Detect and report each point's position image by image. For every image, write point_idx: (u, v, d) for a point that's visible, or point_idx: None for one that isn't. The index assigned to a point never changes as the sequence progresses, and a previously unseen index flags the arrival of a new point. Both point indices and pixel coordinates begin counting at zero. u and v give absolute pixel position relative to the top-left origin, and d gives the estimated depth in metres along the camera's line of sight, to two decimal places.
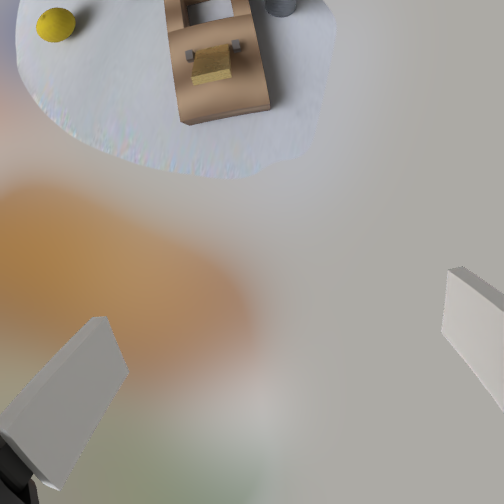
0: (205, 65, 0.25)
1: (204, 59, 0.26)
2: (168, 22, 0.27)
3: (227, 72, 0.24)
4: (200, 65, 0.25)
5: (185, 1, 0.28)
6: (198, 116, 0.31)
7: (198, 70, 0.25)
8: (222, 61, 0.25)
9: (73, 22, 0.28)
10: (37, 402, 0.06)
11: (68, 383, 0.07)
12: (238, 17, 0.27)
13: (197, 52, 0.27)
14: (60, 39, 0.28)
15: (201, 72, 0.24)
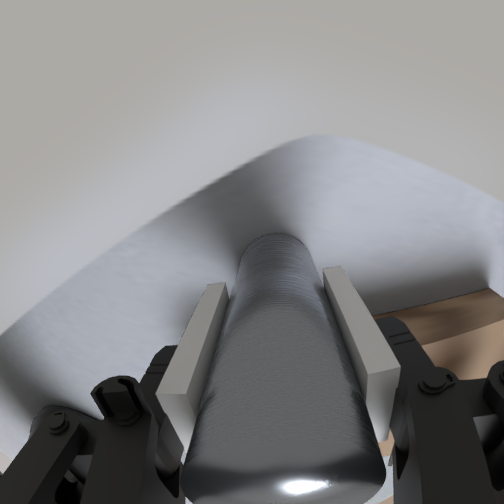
0: None
1: None
2: None
3: None
4: None
5: None
6: None
7: None
8: None
9: None
10: (200, 361, 0.08)
11: (214, 343, 0.09)
12: None
13: None
14: None
15: None
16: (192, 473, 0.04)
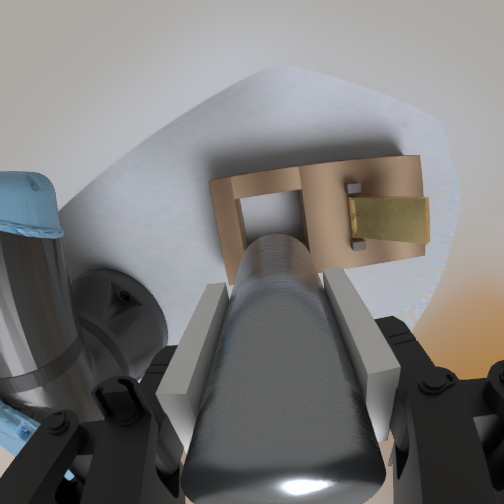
0: (404, 226, 0.22)
1: (387, 227, 0.23)
2: None
3: (426, 201, 0.20)
4: (401, 232, 0.22)
5: None
6: None
7: (413, 235, 0.22)
8: (402, 206, 0.22)
9: None
10: (200, 361, 0.08)
11: (214, 343, 0.09)
12: (303, 183, 0.26)
13: (360, 235, 0.26)
14: None
15: (420, 231, 0.21)
16: (192, 473, 0.04)
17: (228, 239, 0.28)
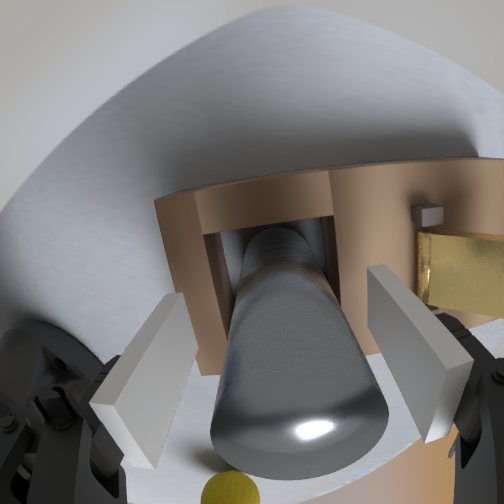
0: None
1: (485, 293, 0.10)
2: None
3: None
4: None
5: None
6: None
7: None
8: None
9: (232, 480, 0.21)
10: (137, 374, 0.07)
11: (160, 355, 0.09)
12: (338, 204, 0.13)
13: (434, 302, 0.13)
14: (258, 491, 0.22)
15: None
16: (223, 415, 0.06)
17: (195, 306, 0.15)
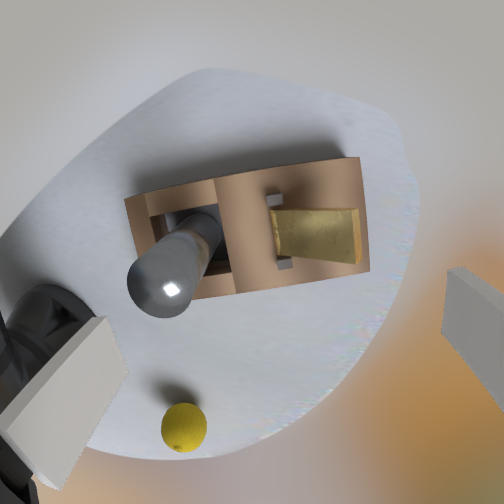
0: (329, 243, 0.20)
1: (310, 244, 0.22)
2: (218, 293, 0.26)
3: (354, 213, 0.19)
4: (326, 250, 0.21)
5: None
6: (367, 248, 0.25)
7: (340, 254, 0.20)
8: (325, 219, 0.20)
9: (184, 406, 0.32)
10: (37, 402, 0.06)
11: (68, 383, 0.07)
12: (219, 196, 0.24)
13: (284, 253, 0.24)
14: (205, 419, 0.33)
15: (347, 249, 0.19)
16: (130, 273, 0.16)
17: None
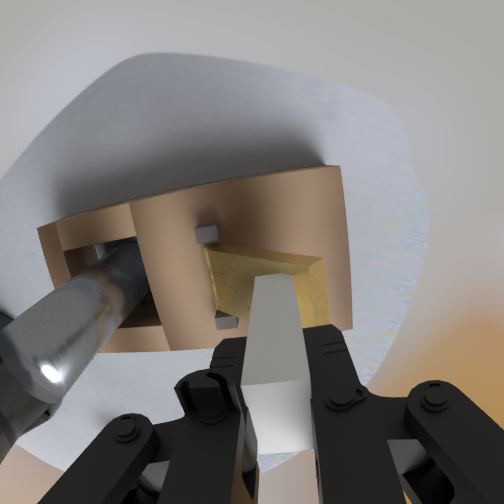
0: None
1: None
2: (149, 348, 0.19)
3: (315, 269, 0.11)
4: None
5: None
6: (349, 299, 0.18)
7: None
8: None
9: None
10: None
11: None
12: (138, 227, 0.17)
13: (223, 309, 0.17)
14: None
15: (303, 323, 0.12)
16: (0, 345, 0.09)
17: None
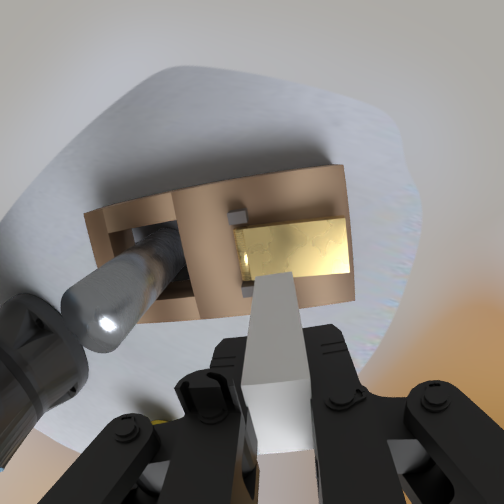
0: (317, 256, 0.19)
1: (293, 261, 0.20)
2: (181, 318, 0.23)
3: None
4: (314, 264, 0.19)
5: None
6: (352, 274, 0.21)
7: (331, 265, 0.19)
8: (313, 231, 0.19)
9: None
10: None
11: None
12: (178, 212, 0.21)
13: None
14: None
15: (339, 258, 0.19)
16: (63, 304, 0.14)
17: None
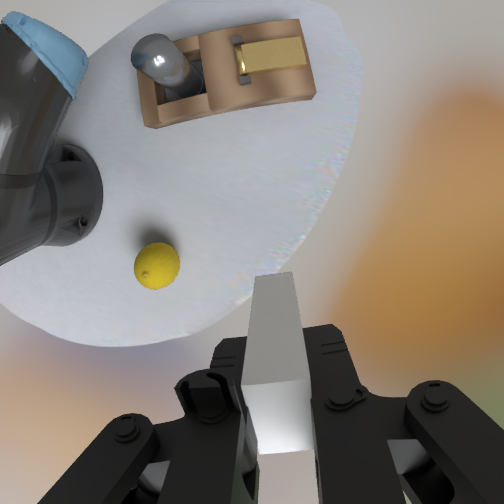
0: (286, 55, 0.27)
1: (272, 59, 0.28)
2: (196, 110, 0.31)
3: (300, 39, 0.27)
4: (284, 60, 0.28)
5: None
6: (311, 75, 0.29)
7: (295, 60, 0.28)
8: (282, 43, 0.27)
9: (159, 242, 0.37)
10: None
11: None
12: (201, 44, 0.29)
13: (249, 70, 0.28)
14: (178, 258, 0.37)
15: (299, 56, 0.27)
16: (135, 48, 0.21)
17: (145, 89, 0.30)
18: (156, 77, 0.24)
